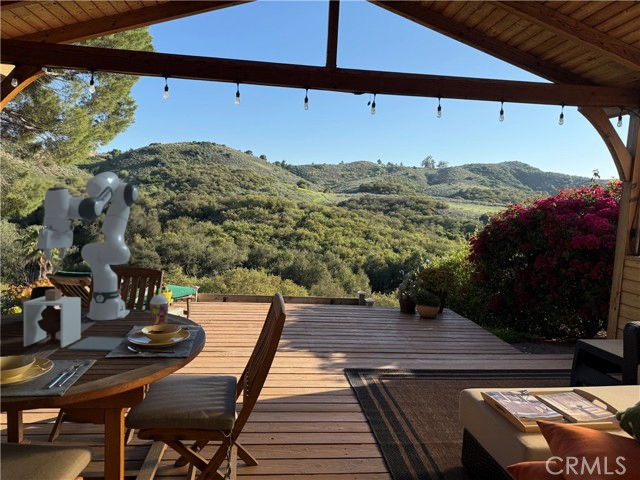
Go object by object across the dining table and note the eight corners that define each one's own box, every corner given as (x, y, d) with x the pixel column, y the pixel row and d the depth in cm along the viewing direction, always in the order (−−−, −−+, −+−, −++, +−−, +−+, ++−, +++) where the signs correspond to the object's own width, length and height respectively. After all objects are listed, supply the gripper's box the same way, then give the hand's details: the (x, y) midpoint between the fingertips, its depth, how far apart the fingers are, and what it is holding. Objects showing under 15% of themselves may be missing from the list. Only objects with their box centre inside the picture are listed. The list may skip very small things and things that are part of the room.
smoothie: (154, 328, 204) (154, 286, 203) (171, 328, 204) (171, 287, 203) (146, 332, 196) (146, 289, 194) (164, 333, 195) (164, 290, 194)
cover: (44, 337, 184) (44, 287, 182) (80, 338, 184) (80, 288, 183) (23, 346, 171) (23, 292, 169) (62, 347, 171) (62, 293, 170)
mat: (88, 338, 184) (88, 336, 184) (130, 339, 184) (130, 338, 184) (67, 349, 168) (67, 348, 168) (112, 350, 169) (112, 349, 168)
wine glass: (45, 327, 199) (45, 285, 198) (62, 329, 196) (62, 286, 195) (24, 332, 190) (24, 288, 188) (42, 335, 187) (42, 290, 186)
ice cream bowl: (54, 347, 171) (54, 310, 170) (31, 344, 173) (30, 308, 172) (74, 339, 181) (74, 305, 180) (52, 337, 183) (52, 303, 183)
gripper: (50, 226, 166) (49, 261, 166) (76, 226, 186) (75, 257, 187) (33, 225, 165) (32, 260, 166) (61, 225, 186) (60, 257, 186)
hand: (55, 259), depth 176 cm, fingers open, 8 cm apart
